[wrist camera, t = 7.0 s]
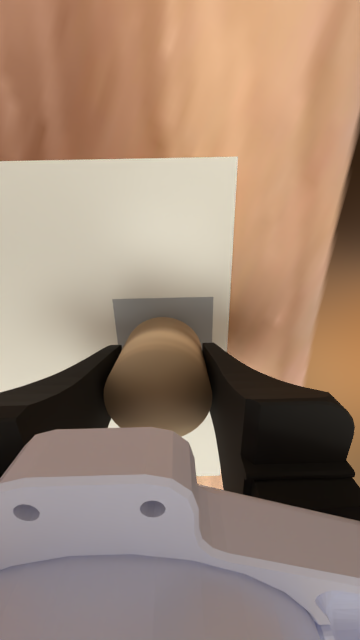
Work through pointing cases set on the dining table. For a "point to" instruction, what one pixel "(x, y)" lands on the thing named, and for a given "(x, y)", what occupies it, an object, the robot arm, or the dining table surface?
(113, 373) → the maple drum
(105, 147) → the dining table surface
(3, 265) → the baseplate
